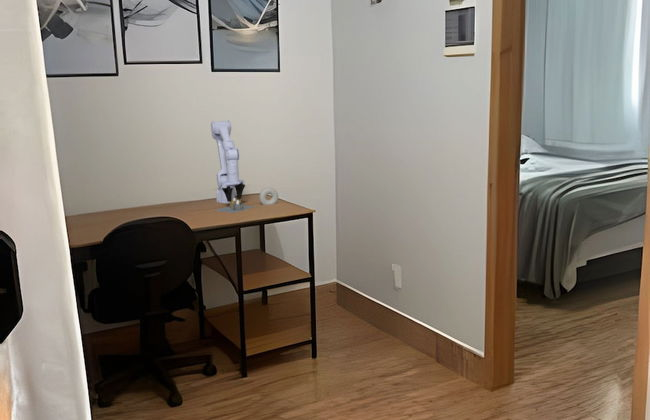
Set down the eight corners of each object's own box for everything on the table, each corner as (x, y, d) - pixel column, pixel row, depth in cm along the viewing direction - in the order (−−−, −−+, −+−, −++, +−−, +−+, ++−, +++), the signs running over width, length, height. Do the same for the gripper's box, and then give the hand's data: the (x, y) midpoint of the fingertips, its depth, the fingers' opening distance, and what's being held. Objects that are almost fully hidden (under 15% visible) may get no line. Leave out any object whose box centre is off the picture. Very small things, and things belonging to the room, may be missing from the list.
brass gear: (227, 207, 317) (227, 200, 317) (234, 205, 322) (234, 198, 321) (236, 208, 314) (235, 201, 314) (243, 206, 319) (242, 199, 318)
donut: (277, 205, 328) (276, 186, 326) (279, 206, 324) (278, 187, 322) (258, 206, 324) (257, 187, 322) (260, 208, 321) (259, 188, 319)
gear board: (214, 213, 312) (213, 201, 310) (235, 207, 325) (234, 195, 324) (234, 215, 305) (233, 203, 304) (255, 209, 318) (254, 197, 317)
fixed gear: (230, 210, 311) (230, 204, 310) (236, 208, 316) (235, 202, 315) (240, 210, 309) (239, 204, 308) (245, 208, 314) (245, 202, 313)
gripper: (229, 175, 307) (231, 203, 310) (248, 171, 319) (249, 198, 322) (218, 174, 310) (220, 202, 313) (237, 170, 322) (238, 196, 325)
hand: (234, 199), depth 318 cm, fingers open, 7 cm apart
